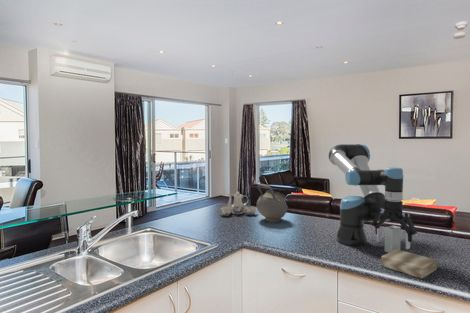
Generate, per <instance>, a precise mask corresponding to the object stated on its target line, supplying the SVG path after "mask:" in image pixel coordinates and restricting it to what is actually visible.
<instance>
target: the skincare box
mask: <svg viewBox="0 0 470 313" xmlns="http://www.w3.org/2000/svg"><path fill="white" fill-rule="evenodd" d="M384 228H385V229H384V252H385V253H387V254H388V253H390V252H392V251H395V250H397V249H398V250H401V237H402V236H401V233H402V232H401V231H402V226H397V225H390V226H385V227H384Z"/></svg>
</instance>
